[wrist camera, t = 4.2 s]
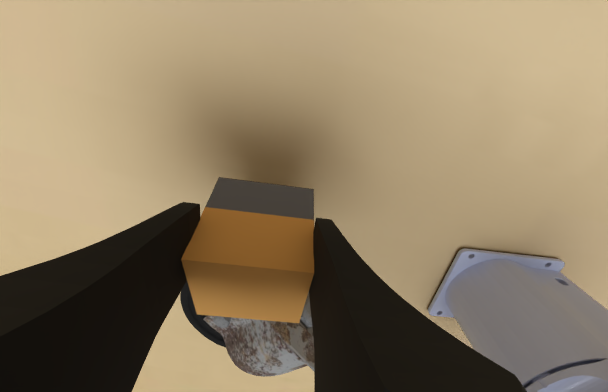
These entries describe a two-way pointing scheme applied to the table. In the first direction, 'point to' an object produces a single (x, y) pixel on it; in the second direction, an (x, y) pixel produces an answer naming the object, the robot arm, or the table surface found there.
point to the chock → (252, 252)
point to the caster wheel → (257, 339)
